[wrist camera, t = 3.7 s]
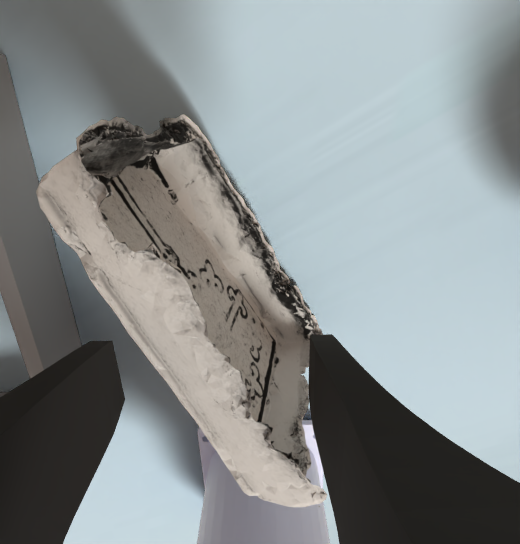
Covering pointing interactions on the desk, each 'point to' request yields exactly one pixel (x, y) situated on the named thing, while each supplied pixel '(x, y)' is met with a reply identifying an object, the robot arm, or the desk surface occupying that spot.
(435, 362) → the desk surface
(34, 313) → the box
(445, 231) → the desk surface
